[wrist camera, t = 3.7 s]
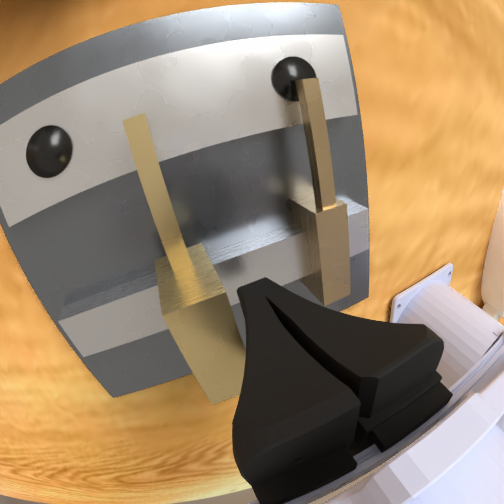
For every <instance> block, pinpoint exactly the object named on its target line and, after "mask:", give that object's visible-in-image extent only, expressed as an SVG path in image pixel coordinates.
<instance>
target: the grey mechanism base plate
mask: <svg viewBox="0 0 504 504" xmlns="http://www.w3.org/2000/svg"><path fill="white" fill-rule="evenodd" d="M143 113H145V116H146V120H147V124H148V127H149V131H150V135H151V138H152V142H153V145H154V149H155V152H156V156H157V159H158V162H159V166H160V169H161V172H162V176H163V179H164V182H165V185H166V188H167V192H168V195H169V198H170V201H171V204H172V207H173V210H174V213H175V216H176V219H177V222H178V225H179V228H180V231H181V234H182V237H183V240H184V243H185V246H186V248H188V247H191V246H194V245H197V244H200V243H202V244H203V247H204V249H205V251H206V253H207V255H208V257H209V259H210V261H211V263H212V265H213V267H214V269H215V271H216V273H217V275H218V277H219V279H220V281H221V283H222V285H223V287H224V289H225V291H226V293H227V296H228V299H229V302H230V305H231V309H232V312H233V315H234V318H235V321H236V324H237V327H238V330H239V333H240V336H241V338H242V341H243V344H244V347H245V350H246V328H245V318H244V315H243V311H242V308H241V305H240V301H239V298H238V295H237V289H238V287H241V286H243V285H246V284H249V283H251V282H254V281H256V280H259V279H262V278H264V277H266V278H268V279H270V280H272V281H274V282H275V283H277V284H279V285H280V286H282V287H284V288H286V289H288V290H289V291H291V292H293V293H295V294H297V295H299V296H301V297H303V298H305V299H307V300H309V301H311V302H314V303H316V304H318V305H321V306H323V307H326V308H329V309H331V310H335V311H338V312H340V311H342V310H344V309H346V308H348V307H350V306H352V305H354V304H356V303H358V302H360V301H362V300H364V299H366V298H368V295H369V206H368V187H367V172H366V160H365V149H364V139H363V131H362V122H361V115H360V108H359V101H358V94H357V88H356V82H355V76H354V71H353V66H352V60H351V55H350V51H349V46H348V41H347V37H346V33H345V28H344V24H343V20H342V16H341V12H340V9H339V5H333V4H319V3H254V4H240V5H230V6H221V7H213V8H206V9H199V10H193V11H188V12H182V13H177V14H173V15H168V16H164V17H159V18H155V19H151V20H147V21H144V22H140V23H136V24H133V25H129V26H126V27H123V28H120V29H117V30H114V31H111V32H108V33H105V34H102V35H99V36H97V37H94V38H91V39H89V40H86V41H84V42H81V43H79V44H76V45H74V46H72V47H69V48H67V49H65V50H63V51H61V52H58V53H56V54H54V55H52V56H50V57H48V58H46V59H44V60H42V61H40V62H38V63H36V64H34V65H32V66H31V67H29V68H27V69H25V70H23V71H22V72H20V73H18V74H16V75H15V76H13V77H11V78H10V79H8V80H7V81H5V82H3V83H2V84H0V224H1V226H2V228H3V231H4V233H5V235H6V237H7V239H8V242H9V244H10V246H11V248H12V250H13V252H14V254H15V256H16V258H17V260H18V262H19V264H20V266H21V268H22V270H23V271H24V273H25V275H26V277H27V279H28V281H29V282H30V284H31V286H32V288H33V289H34V291H35V293H36V294H37V296H38V298H39V299H40V301H41V303H42V304H43V306H44V307H45V309H46V311H47V312H48V314H49V315H50V317H51V318H52V320H53V321H54V323H55V324H56V326H57V327H58V329H59V330H60V332H61V333H62V335H63V336H64V337H65V339H66V340H67V342H68V343H69V344H70V346H71V347H72V348H73V350H74V351H75V352H76V354H77V355H78V356H79V358H80V359H81V360H82V361H83V363H84V364H85V365H86V367H87V368H88V369H89V370H90V372H91V373H92V374H93V375H94V376H95V378H96V379H97V380H98V381H99V382H100V383H101V385H102V386H103V387H104V388H105V389H106V390H107V392H108V393H109V394H110V395H111V396H112V397H113V398H114V397H118V396H122V395H125V394H129V393H132V392H136V391H139V390H142V389H146V388H149V387H152V386H155V385H159V384H162V383H165V382H168V381H171V380H174V379H177V378H180V377H183V376H186V375H189V374H192V373H193V372H192V370H191V369H190V367H189V365H188V363H187V362H186V360H185V358H184V356H183V354H182V353H181V351H180V349H179V347H178V345H177V343H176V341H175V340H174V338H173V336H172V334H171V332H170V330H169V328H168V326H167V324H166V322H165V320H164V318H163V316H162V312H161V305H160V299H159V291H158V284H157V276H156V268H155V259H158V258H161V257H164V256H166V255H167V254H166V251H165V249H164V246H163V243H162V241H161V238H160V235H159V233H158V230H157V227H156V224H155V222H154V219H153V216H152V213H151V210H150V207H149V205H148V202H147V199H146V196H145V193H144V190H143V187H142V184H141V181H140V178H139V175H138V171H137V168H136V165H135V162H134V159H133V155H132V152H131V149H130V145H129V142H128V139H127V135H126V132H125V128H124V125H123V120H125V119H128V118H131V117H134V116H137V115H140V114H143Z"/></svg>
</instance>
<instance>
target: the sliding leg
mask: <svg viewBox="0 0 504 504" xmlns="http://www.w3.org/2000/svg"><path fill="white" fill-rule="evenodd" d="M123 125H124V128H125V132H126V135H127V139H128V142H129V145H130V149H131V152H132V155H133V159H134V162H135V165H136V168H137V171H138V175H139V178H140V181H141V184H142V187H143V190H144V193H145V196H146V199H147V202H148V205H149V207H150V210H151V213H152V216H153V219H154V222H155V224H156V227H157V230H158V233H159V235H160V238H161V241H162V243H163V246H164V249H165V251H166V254H167V255H166V256H164V257H161V258H158V259H155V268H156V276H157V284H158V291H159V299H160V305H161V312H162V316H163V318H164V320H165V322H166V324H167V326H168V328H169V330H170V332H171V334H172V336H173V338H174V340H175V341H176V343H177V345H178V347H179V349H180V351H181V353H182V354H183V356H184V358H185V360H186V362H187V363H188V365H189V367H190V369H191V370H192V372H193V374H194V376H195V377H196V379H197V381H198V382H199V384H200V386H201V387H202V389H203V391H204V392H205V394H206V396H207V397H208V399H209V401H210V402H211V404H212V405H213V404H216V403H219V402H222V401H224V400H227V399H230V398H232V397H235V396H238V395H240V392H241V387H242V382H243V376H244V368H245V358H246V350H245V347H244V344H243V341H242V338H241V336H240V333H239V330H238V327H237V324H236V321H235V318H234V315H233V312H232V309H231V305H230V302H229V299H228V296H227V293H226V291H225V289H224V287H223V285H222V283H221V281H220V279H219V277H218V275H217V273H216V271H215V269H214V267H213V265H212V263H211V261H210V259H209V257H208V255H207V253H206V251H205V249H204V247H203V244H202V243H200V244H197V245H194V246H191V247H188V248H186V246H185V243H184V240H183V237H182V234H181V231H180V228H179V225H178V222H177V219H176V216H175V213H174V210H173V207H172V204H171V201H170V198H169V195H168V192H167V188H166V185H165V182H164V179H163V176H162V172H161V169H160V166H159V162H158V159H157V156H156V152H155V149H154V145H153V142H152V138H151V135H150V131H149V127H148V124H147V120H146V116H145V113H143V114H140V115H137V116H134V117H131V118H128V119H125V120H123Z"/></svg>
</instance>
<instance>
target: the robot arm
mask: <svg viewBox="0 0 504 504" xmlns="http://www.w3.org/2000/svg"><path fill="white" fill-rule="evenodd" d="M452 271H453V264H451V263H448V264H447V265H445V266H444V267H442V268H440V269H439V270H437V271H436V272H434V273H433V274H431V275H429V276H428V277H426V278H425V279H423V280H421V281H420V282H418V283H416V284H415V285H413V286H411V287H410V288H408V289H406V290H405V291H403V292H401V293H400V294H398V295H396V296H395V297H394V298H393V300H392V307H391V315H390V322H383V321H376V320H370V319H365V318H360V317H356V316H352V315H348V314H344V313H341V312H338V311H335V310H331V309H329V308H326V307H323V306H321V305H318V304H316V303H314V302H311V301H309V300H307V299H305V298H303V297H301V296H299V295H297V294H295V293H293V292H291V291H289V290H288V289H286V288H284V287H282V286H280V285H279V284H277V283H275V282H274V281H272V280H270V279H268V278H266V277H264V278H262V279H259V280H256V281H254V282H251V283H249V284H246V285H243V286H241V287H238V289H237V295H238V298H239V301H240V305H241V308H242V311H243V315H244V318H245V328H246V358H245V368H244V376H243V382H242V387H241V392H240V397H239V401H238V405H237V409H236V412H235V415H234V419H233V422H232V425H233V428H232V442H233V454H234V458H235V462H236V464H237V466H238V469H239V471H240V473H241V476H242V477H243V478H244V479H245V480H246V481H247V482H248V483H249V484H250V485H251V486H252V488H253V490H254V493H255V495H256V497H257V499H258V500H256V501H253V502H250V503H247V504H308V503H310V502H312V501H315V500H317V499H319V498H321V497H323V496H325V495H327V494H329V493H331V492H334V491H335V490H337V489H339V488H341V487H343V486H345V485H347V484H348V483H350V482H352V481H354V480H356V479H358V478H359V477H361V476H363V475H365V474H366V473H368V472H370V471H371V470H373V469H375V468H376V467H378V466H379V465H381V464H382V463H384V462H385V461H387V460H389V459H390V458H392V457H393V456H395V455H396V454H397V453H399V452H400V451H402V450H403V449H404V448H406V447H407V446H409V445H410V444H411V443H413V442H414V441H415V440H417V439H418V438H419V437H421V436H422V435H423V434H424V435H423V436H422V437H421V438H419V439H418V440H417V441H415V442H414V443H413V444H411V445H410V446H409V447H407V448H406V449H404V450H403V451H402V452H400V453H399V454H398V455H396V456H395V457H394V458H392V459H391V460H389V461H388V462H387V463H385V464H384V465H383V466H382V467H381V468H380V469H378V470H377V471H376V472H374V473H372V474H371V475H370V476H368V477H366V478H365V479H363V480H362V481H360V482H358V483H357V484H355V485H354V486H352V487H350V488H349V489H347V490H345V491H344V492H342V493H340V494H338V495H337V496H335V497H333V498H331V499H329V500H328V501H326V502H324V503H322V504H504V326H503V325H502V324H500V323H499V322H498V321H496V320H495V319H494V318H493V317H491V316H490V315H489V314H487V313H486V312H485V311H483V310H482V309H481V308H479V307H478V306H476V305H475V304H474V303H472V302H471V301H470V300H468V299H467V298H465V297H464V296H463V295H461V294H460V293H458V292H457V291H456V290H454V289H453V288H451V287H450V281H451V276H452ZM439 421H440V422H439ZM438 422H439V423H438ZM437 423H438V424H437ZM436 424H437V425H436ZM435 425H436V426H435ZM433 426H434V427H433ZM432 427H433V428H432ZM431 428H432V429H431ZM430 429H431V430H430ZM428 430H430V431H428ZM427 431H428V432H427ZM426 432H427V433H426ZM425 433H426V434H425Z"/></svg>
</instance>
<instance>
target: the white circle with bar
mask: <svg viewBox="0 0 504 504" xmlns="http://www.w3.org/2000/svg"><path fill="white" fill-rule="evenodd" d="M481 295H482V300H483V303H484V304H485V305H484V307H483V308H482V310H483V311H485V312H486V313H487V314H489V315H490V316H491V317H493V318H494V319H495V320H496V321H498V319H499V317H500V316H501V317H502V318H504V189H503V192H502V196H501V199H500V203H499V206H498V210H497V214H496V217H495V221H494V225H493V229H492V233H491V237H490V241H489V245H488V249H487V254H486V259H485V264H484V269H483V276H482V285H481Z"/></svg>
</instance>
